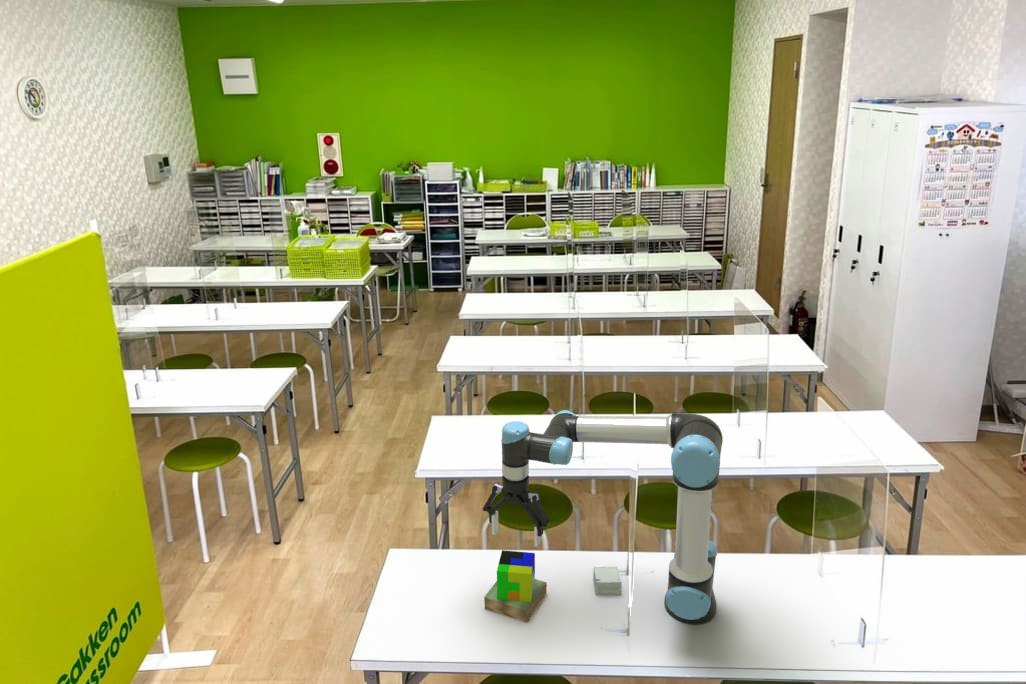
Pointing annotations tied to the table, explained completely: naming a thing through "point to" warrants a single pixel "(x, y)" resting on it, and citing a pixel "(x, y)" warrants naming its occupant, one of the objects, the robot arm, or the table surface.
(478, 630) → the table surface
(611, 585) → the small box
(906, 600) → the table surface
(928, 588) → the table surface
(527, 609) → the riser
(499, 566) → the puzzle toy
